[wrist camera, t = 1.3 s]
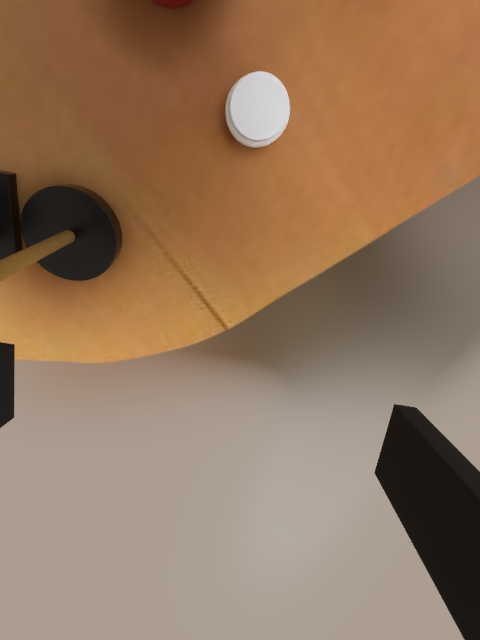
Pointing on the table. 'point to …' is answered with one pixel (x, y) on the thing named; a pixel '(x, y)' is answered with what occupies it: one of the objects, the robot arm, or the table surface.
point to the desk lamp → (66, 234)
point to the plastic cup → (172, 3)
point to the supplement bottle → (257, 109)
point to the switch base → (9, 216)
